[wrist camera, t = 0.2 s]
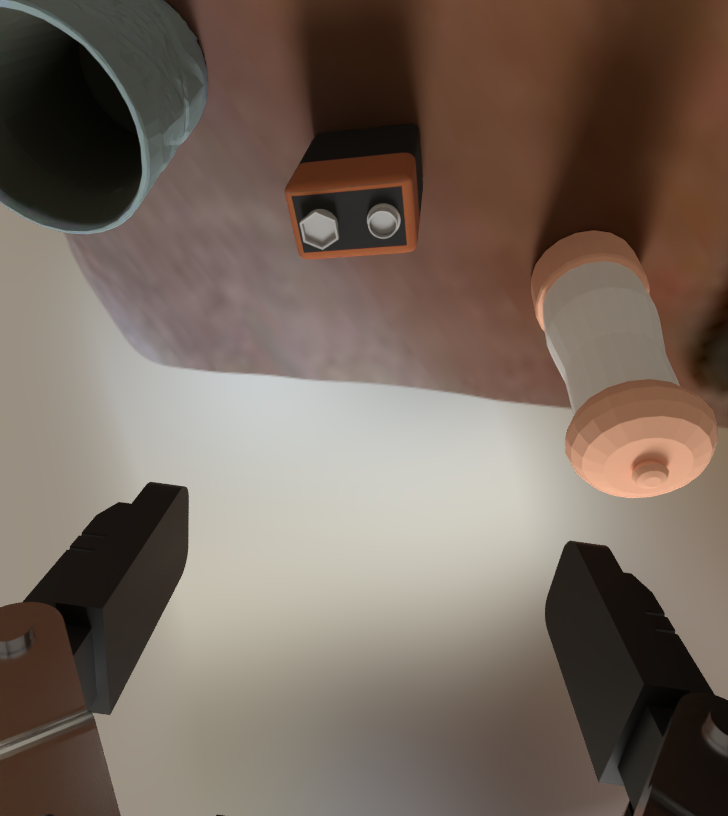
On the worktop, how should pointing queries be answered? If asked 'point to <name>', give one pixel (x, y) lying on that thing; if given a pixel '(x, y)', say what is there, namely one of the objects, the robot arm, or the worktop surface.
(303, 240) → the battery
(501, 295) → the worktop surface
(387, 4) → the worktop surface
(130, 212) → the teal cup
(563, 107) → the worktop surface
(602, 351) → the salt shaker
